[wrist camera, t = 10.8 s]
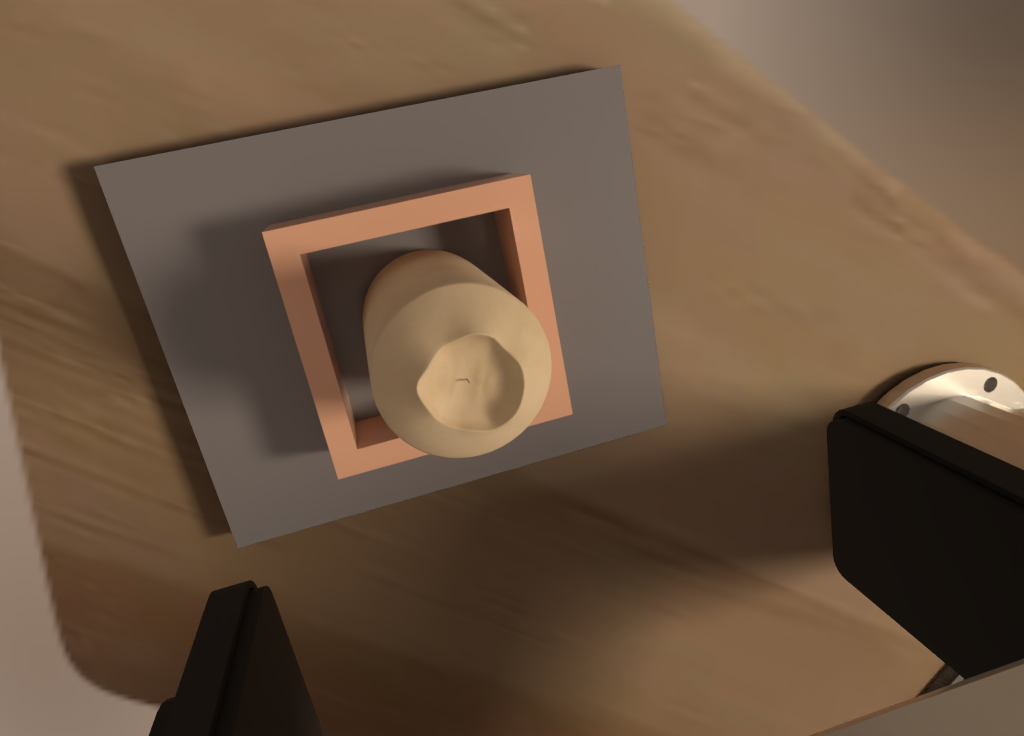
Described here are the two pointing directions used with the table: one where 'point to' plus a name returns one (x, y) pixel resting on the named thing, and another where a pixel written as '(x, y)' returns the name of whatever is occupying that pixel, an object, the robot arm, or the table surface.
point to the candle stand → (356, 262)
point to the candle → (452, 355)
